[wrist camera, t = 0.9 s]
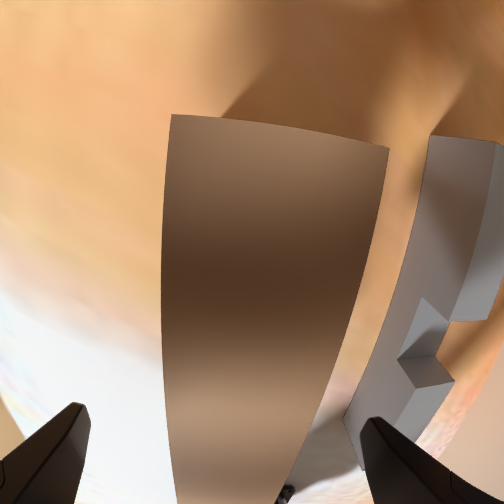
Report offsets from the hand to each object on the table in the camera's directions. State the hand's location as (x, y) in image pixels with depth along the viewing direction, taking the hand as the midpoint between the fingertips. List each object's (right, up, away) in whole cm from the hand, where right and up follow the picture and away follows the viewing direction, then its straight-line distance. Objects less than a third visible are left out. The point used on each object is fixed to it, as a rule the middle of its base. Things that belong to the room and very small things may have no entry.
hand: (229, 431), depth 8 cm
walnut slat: (-1, +3, +8) cm, 8 cm away
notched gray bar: (+10, +2, +9) cm, 14 cm away
